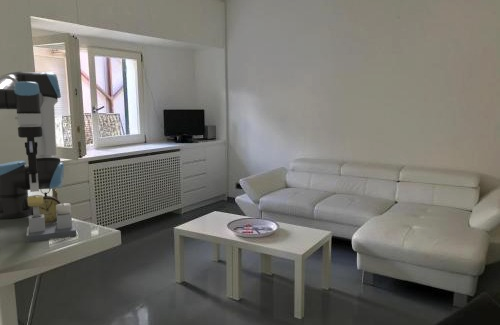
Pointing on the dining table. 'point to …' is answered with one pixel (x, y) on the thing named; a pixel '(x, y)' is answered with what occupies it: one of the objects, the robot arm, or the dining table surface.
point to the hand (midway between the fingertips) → (34, 191)
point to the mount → (50, 228)
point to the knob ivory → (63, 208)
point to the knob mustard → (35, 204)
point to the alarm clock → (48, 208)
